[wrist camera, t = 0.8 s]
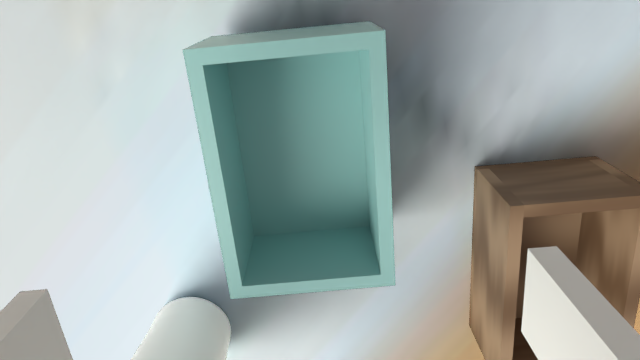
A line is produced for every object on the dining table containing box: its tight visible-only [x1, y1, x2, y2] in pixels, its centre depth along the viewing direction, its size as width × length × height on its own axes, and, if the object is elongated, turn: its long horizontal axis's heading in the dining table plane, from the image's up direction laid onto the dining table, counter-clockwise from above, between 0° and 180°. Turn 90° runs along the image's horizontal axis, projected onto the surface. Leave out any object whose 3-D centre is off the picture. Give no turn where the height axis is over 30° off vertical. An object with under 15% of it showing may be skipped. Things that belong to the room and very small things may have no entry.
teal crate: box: [183, 21, 395, 299], centre depth 25 cm, size 12×8×7 cm
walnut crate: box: [469, 156, 640, 360], centre depth 29 cm, size 12×7×6 cm, turn 5°
